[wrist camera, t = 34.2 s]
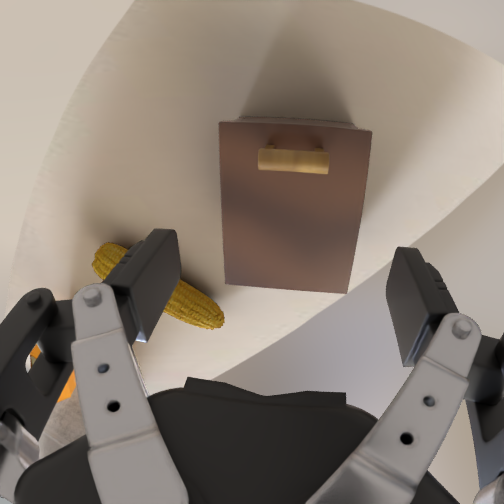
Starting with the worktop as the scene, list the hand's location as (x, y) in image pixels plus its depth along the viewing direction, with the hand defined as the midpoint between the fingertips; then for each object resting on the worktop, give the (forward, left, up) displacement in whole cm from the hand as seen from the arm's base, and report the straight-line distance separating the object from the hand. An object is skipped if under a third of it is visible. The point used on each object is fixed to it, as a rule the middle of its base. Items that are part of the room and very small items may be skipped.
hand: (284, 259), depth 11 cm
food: (+21, -18, -26) cm, 38 cm away
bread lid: (+6, 0, -17) cm, 18 cm away
